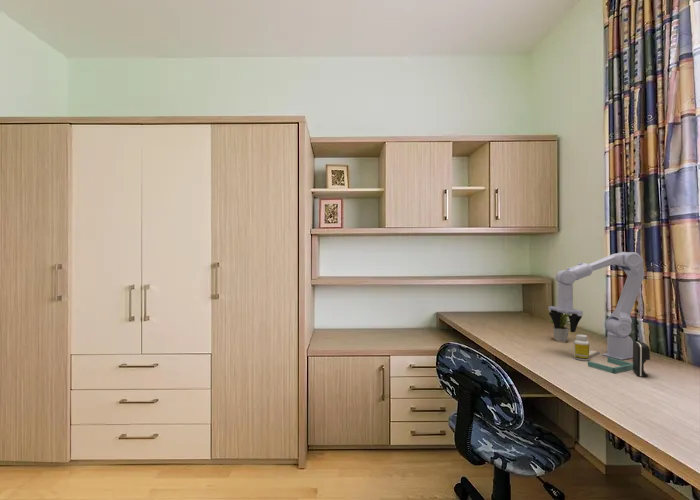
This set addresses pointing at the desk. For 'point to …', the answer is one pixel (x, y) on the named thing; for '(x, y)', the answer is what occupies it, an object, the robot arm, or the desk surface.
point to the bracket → (624, 367)
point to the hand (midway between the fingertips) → (564, 330)
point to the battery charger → (640, 357)
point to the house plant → (561, 329)
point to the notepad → (593, 353)
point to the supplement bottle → (581, 348)
